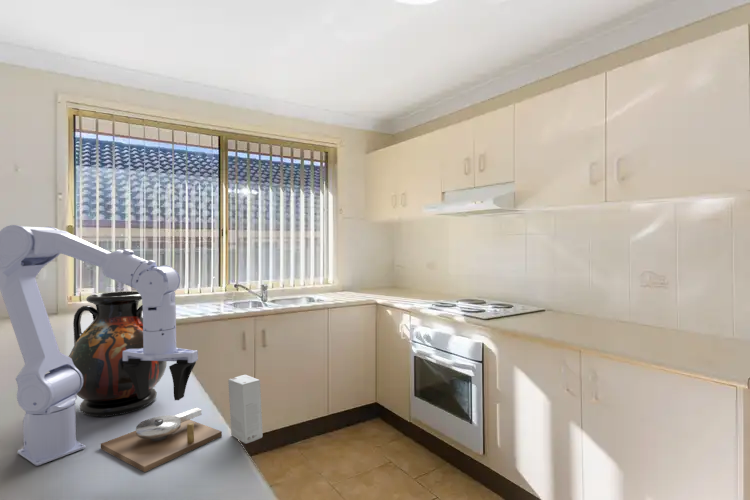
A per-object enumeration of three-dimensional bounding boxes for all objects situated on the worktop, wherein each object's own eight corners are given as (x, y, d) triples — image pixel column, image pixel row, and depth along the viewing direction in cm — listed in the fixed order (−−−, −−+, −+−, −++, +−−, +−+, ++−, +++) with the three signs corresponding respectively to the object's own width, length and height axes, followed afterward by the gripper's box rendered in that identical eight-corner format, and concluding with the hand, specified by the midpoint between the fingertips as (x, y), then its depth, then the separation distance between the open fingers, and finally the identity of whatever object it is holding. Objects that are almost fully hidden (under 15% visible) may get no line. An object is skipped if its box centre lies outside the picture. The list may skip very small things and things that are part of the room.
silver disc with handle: (150, 442, 79) (149, 433, 79) (128, 432, 83) (127, 423, 83) (210, 417, 90) (209, 409, 90) (187, 410, 94) (187, 402, 94)
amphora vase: (48, 429, 91) (45, 301, 91) (87, 394, 112) (85, 291, 112) (157, 417, 97) (154, 297, 96) (175, 386, 118) (173, 287, 117)
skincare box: (263, 437, 86) (262, 379, 86) (243, 445, 83) (242, 384, 83) (248, 428, 90) (247, 373, 90) (228, 435, 87) (227, 378, 87)
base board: (100, 448, 82) (100, 426, 82) (176, 419, 96) (176, 399, 95) (144, 472, 73) (144, 446, 73) (221, 436, 87) (221, 414, 87)
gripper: (110, 332, 78) (111, 404, 78) (182, 333, 76) (184, 407, 76) (136, 324, 85) (137, 390, 85) (203, 325, 83) (204, 393, 83)
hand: (161, 397), depth 81 cm, fingers open, 7 cm apart
